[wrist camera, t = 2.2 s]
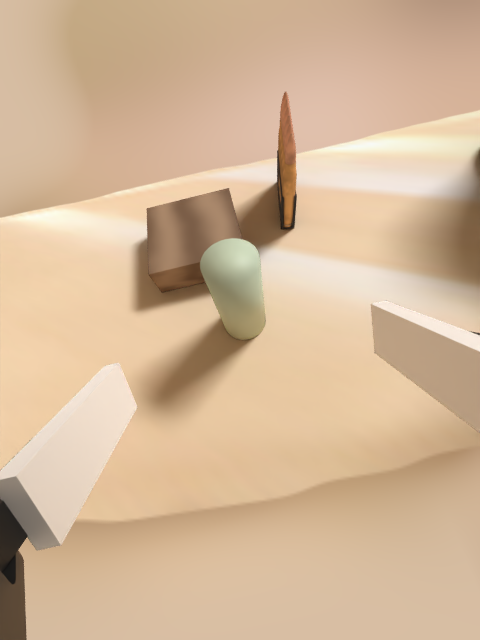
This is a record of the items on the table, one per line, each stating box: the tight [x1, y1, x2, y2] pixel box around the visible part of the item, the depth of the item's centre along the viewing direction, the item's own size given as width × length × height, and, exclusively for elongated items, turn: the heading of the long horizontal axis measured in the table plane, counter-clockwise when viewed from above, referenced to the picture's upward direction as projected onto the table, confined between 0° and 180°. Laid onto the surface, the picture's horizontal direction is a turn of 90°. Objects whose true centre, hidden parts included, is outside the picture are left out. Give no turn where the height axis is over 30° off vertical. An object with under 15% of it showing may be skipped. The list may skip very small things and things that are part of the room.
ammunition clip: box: [277, 92, 297, 229], centre depth 34 cm, size 11×2×12 cm, turn 179°
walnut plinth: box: [147, 188, 242, 292], centre depth 35 cm, size 12×12×4 cm
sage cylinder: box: [200, 238, 266, 340], centre depth 26 cm, size 5×5×11 cm
